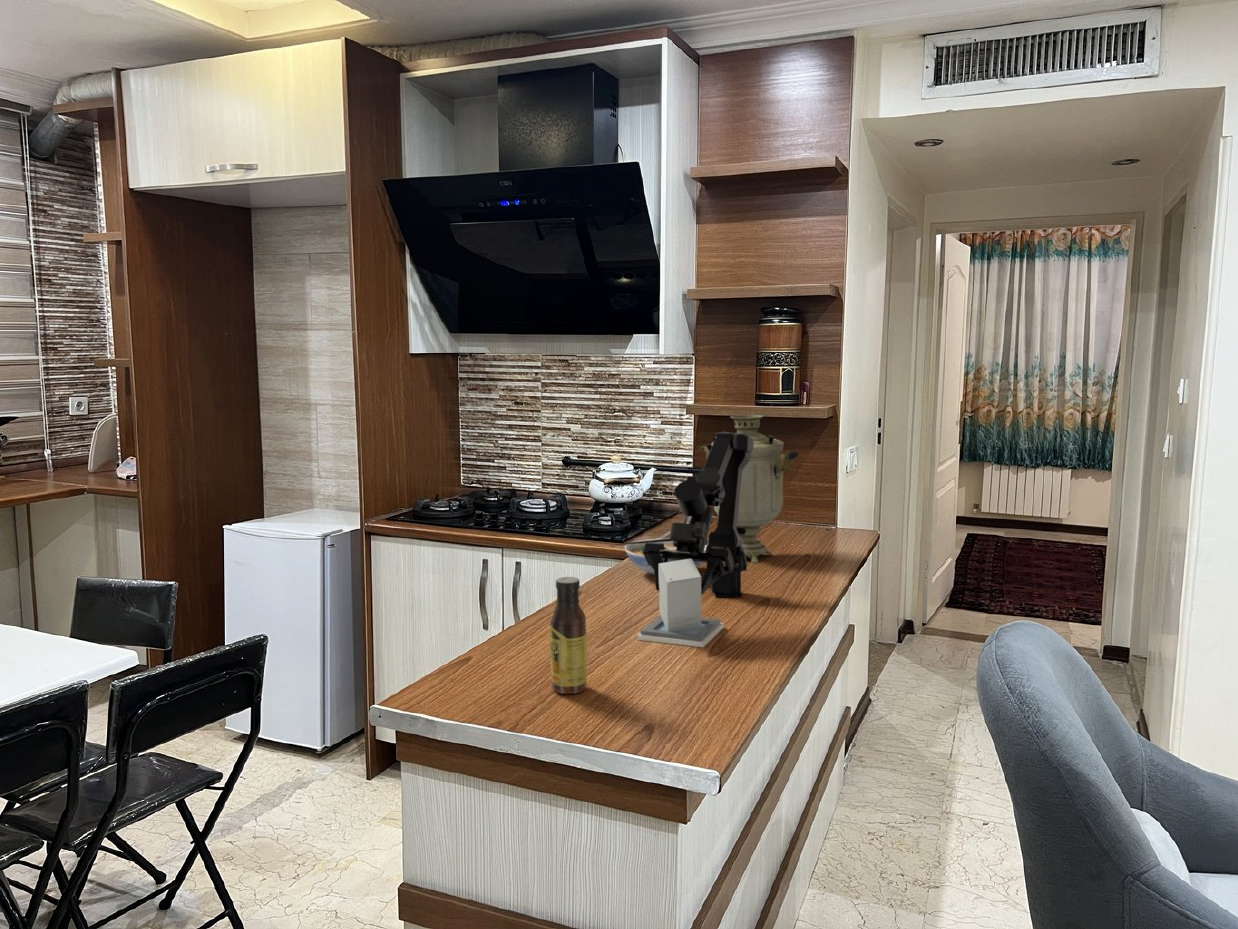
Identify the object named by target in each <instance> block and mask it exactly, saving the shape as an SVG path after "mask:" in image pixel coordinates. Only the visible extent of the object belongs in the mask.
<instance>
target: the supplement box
mask: <svg viewBox="0 0 1238 929" xmlns="http://www.w3.org/2000/svg"><path fill="white" fill-rule="evenodd" d="M701 583H702V576H701V573H700V572H699V570H698V567H697V568H696V566H695V564H694V562H693V560H692V559H684V560H678V561H672V562H666V563H659V591H658V597H659V598H658V599H659V605H658V606H659V614H660V615H661V618H662V620H663V622H664V625H665V627H666V629H667V631H672V632H677V631H683V630H689V629H695V628H700V627H701V618H702V595H701ZM660 615H659V616H660Z"/></svg>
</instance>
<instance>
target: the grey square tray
mask: <svg viewBox="0 0 1238 929" xmlns="http://www.w3.org/2000/svg"><path fill="white" fill-rule="evenodd" d="M723 629H724V623H723V622H721V619H715V618H705V617H701V627H700V628H695V629H689V630H683V631H677V632H672V631H667V629H666V627H665V625H664V622H663V620H662V618H661V615H659V616H658V617H656V618H655V619H654V620H652V622H650V623H649V624H647V625H646V626H644V627H643V628H642V629H641V630H640V633H638V634H637V641H644V642H645V641H646V642H653V643H662V644H663V643H664V644H670V645H680V646H688V647H696V648H705V646H707V644H708V643H709V642H711V641H712V640H713V639H714V638H715V637H716V635H718V634H719V632H721V631H722V630H723Z"/></svg>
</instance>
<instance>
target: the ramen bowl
mask: <svg viewBox="0 0 1238 929" xmlns="http://www.w3.org/2000/svg"><path fill="white" fill-rule="evenodd" d="M673 541H674V540H673V539H671V538H670V537H669V538H651V539H641V540H636V541H632V542H631V541H630V542H623V543H622V542H621V543H614V545H615V546H620V545H621V546H622V545H623V546H624V545H625V546H624V549H625V552H626V554H627V556H628V558H629V560H630V561H631V563H633V564H634V566H636V568H638V569H640V570H641V571H643V572H647V573H649V574H652V575H653V576H655V573H654V569H653V568H652V566H650V565H648V563H647V561H646V559H645V556H644V554H643V552H642V551H643V548H644V545H645V544H646V543H648V542H654V543H663V544H664V547H665V549H666V550H676V547H674V545H673ZM707 545H708V543H707ZM707 545H705V548H704V552H703V553H706V547H707ZM672 561H678V560H670V559H668V562H672ZM702 563H703V562H694V564H695V566H696V568H697V569H698V567H700V565H702Z"/></svg>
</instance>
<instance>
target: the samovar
mask: <svg viewBox="0 0 1238 929" xmlns="http://www.w3.org/2000/svg"><path fill="white" fill-rule="evenodd" d="M730 418H731V419H732V420H733V422H734V428H735V430H736V433H747V434H748V435H749V437H751V438H752V439H753V443H754V446H753V451H752V452H751V455H750V461H749V462H748V464H747V465H746V466H745V467H744V469H743V470H742V477H741V487H740V498H739V508H738V519H737V532H738V534H739V536H740V538H741V540H742V547H743V550H744V553H745V555H746V557H748V558H749V559H751V561H750V563H754V564H758V563H760V561H759V558H758V557H759V556H760V555H764V554H768V555H771V557H773V556H774V554H773V553H772V552H771V551H769V550H768V549H767V547H766V545H764V544H762V542H761V541H760V540H759V539H758V540H757V538H756V537H757V536H758V535H760V532H761V531H760V530H761V529H760V527H762V526H764V525H767V524H769V523H771V522H772V521H774V519H776V518H778V516H779V514H780V513H781V511H782V509H783V506H784V471H788V470H789V469H790V467H791V466H792V465H793V459H795V458H798V457H799V456H800V455H799V451H796V450H794V451H789V452H788V453H786V454H785V453H782V451H783V449H784V441H782V440H780V439H776V436H775V435H773V434H769V435H767V437H766V435H764V434H762V433H760V432H758V430H759V428H760V424H761V423H760V422H761V421H760V420H761V419H762V418H764V415H760V414H741V415H732V416H730ZM722 432H726V431H724V430H723V431H722ZM712 445H713V441H712V442H711V443H706V444H705V445H701V446H700V447H699V449H700V451H702V452H705V459H706V460H707V458H708V455H709V453H710V450H711V448H712ZM784 460H785V461H786V464H784ZM713 509H714V511H715V513H716V515H717V516H718V515H719V506H718V507H713Z"/></svg>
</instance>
